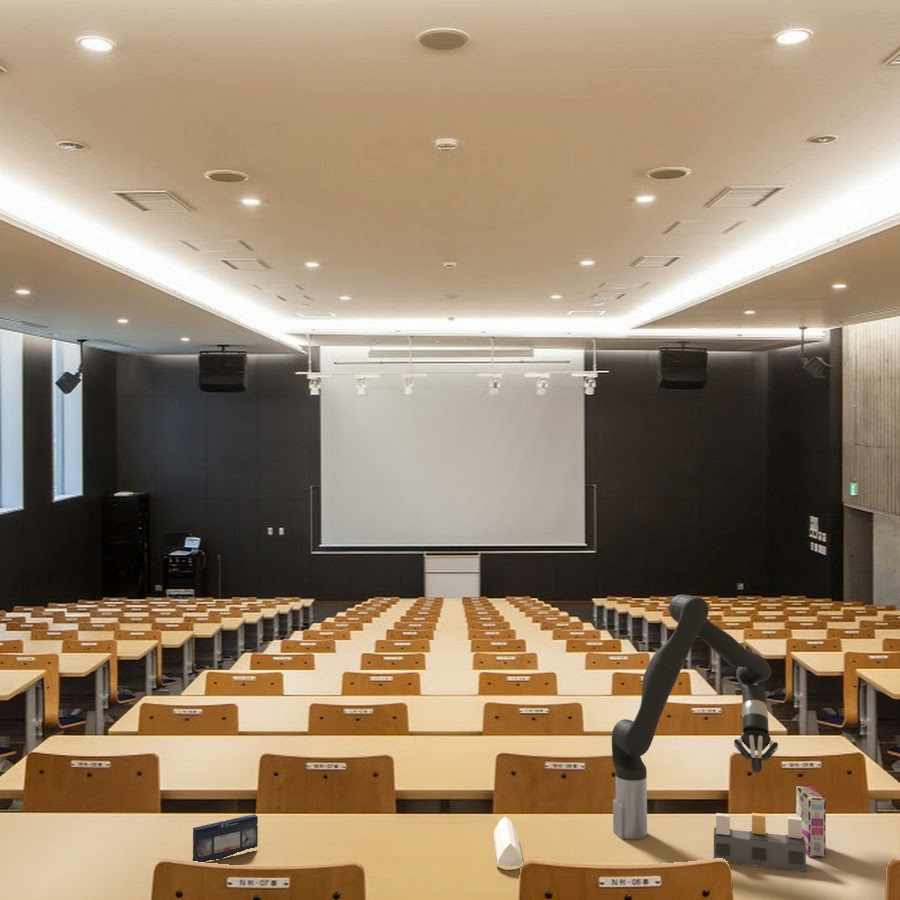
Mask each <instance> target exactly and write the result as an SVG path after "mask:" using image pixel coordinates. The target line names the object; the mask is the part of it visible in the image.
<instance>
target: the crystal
mask: <svg viewBox="0 0 900 900" xmlns="http://www.w3.org/2000/svg"><path fill="white" fill-rule="evenodd" d="M493 835H494V842H495V850H496V857H497V864H499V865H505V866H510V867H512V866H520V865H521V864H522V863H523V864H524V861H523V860H524V859H523V857H522V850H521V845H520V841H519V837H518V836H519V835H518V832H517V829H516V827H515V825H514V824H513V822H512V820H511V819H510V818H508V817H507V816H504V817H502V818H501V819H500V820H499V822H498V823H497V825H496V827H495V829H494V831H493ZM495 850H494V851H495Z"/></svg>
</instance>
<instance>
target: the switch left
mask: <svg viewBox="0 0 900 900" xmlns="http://www.w3.org/2000/svg"><path fill="white" fill-rule="evenodd" d="M730 816H731V814H728V813H719V812H716V813H715V818H716V819H715V823H716V824H715V826H716V827H715V828H716V834H724V835H730V829H731V823H730V822H731V820H730V819H731V817H730Z"/></svg>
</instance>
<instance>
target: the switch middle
mask: <svg viewBox="0 0 900 900" xmlns="http://www.w3.org/2000/svg"><path fill="white" fill-rule="evenodd" d="M766 824H767V823H766V814H765V813H757V812H751V831H752V833H753V834H763V835H766V833H767V832H766Z"/></svg>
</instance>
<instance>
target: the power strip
mask: <svg viewBox="0 0 900 900" xmlns="http://www.w3.org/2000/svg"><path fill="white" fill-rule="evenodd" d="M806 856H807V854H806V844H805V839H804V837H802V838H792V837H788V834H785V835H784V834H777V833H776V834H775V833H768V832H766V835H763V834H753V833H752V830H750V831H747V830H746V831H745V830H740V829H739V830H737V829H733V828H730V835H724V834H716V827H714V828H713V859H714V858H723V859H725V860H726V861H728V862H729V863H728V864H734V865H735V864H736V865H743V864H745V865H744V866H752V865H756V866H755V867H760V866H763V867H762V868H769V867H771V869H778V868H779V869H780V868H782V869H781V870H787V869H790V870H789V871H796V870H798V872H807V857H806Z"/></svg>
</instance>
